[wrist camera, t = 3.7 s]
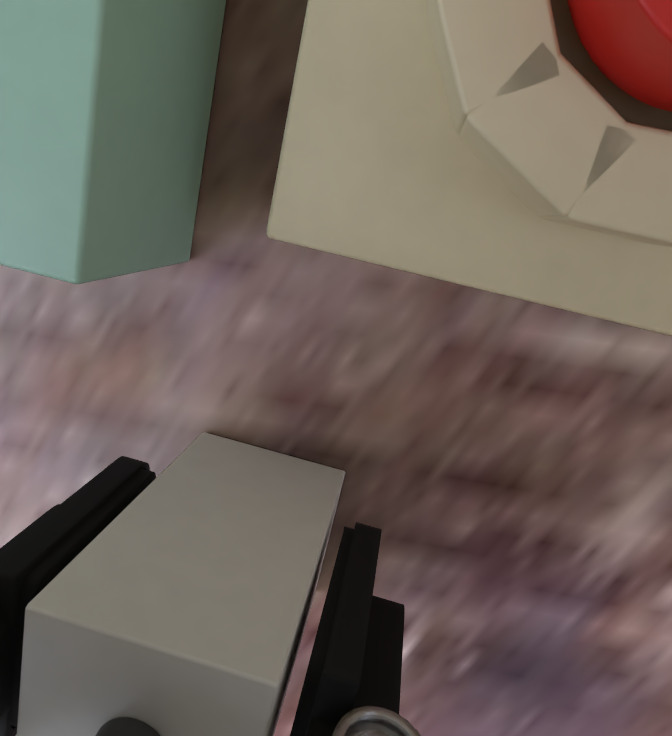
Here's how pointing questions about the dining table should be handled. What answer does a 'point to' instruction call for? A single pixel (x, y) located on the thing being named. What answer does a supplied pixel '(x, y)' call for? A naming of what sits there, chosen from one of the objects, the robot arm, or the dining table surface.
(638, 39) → the power button
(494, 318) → the dining table surface
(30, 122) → the green socket board
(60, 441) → the dining table surface
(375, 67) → the switch box
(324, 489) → the white block with knob
